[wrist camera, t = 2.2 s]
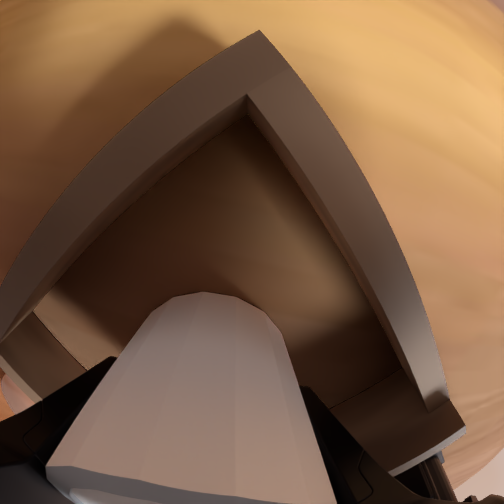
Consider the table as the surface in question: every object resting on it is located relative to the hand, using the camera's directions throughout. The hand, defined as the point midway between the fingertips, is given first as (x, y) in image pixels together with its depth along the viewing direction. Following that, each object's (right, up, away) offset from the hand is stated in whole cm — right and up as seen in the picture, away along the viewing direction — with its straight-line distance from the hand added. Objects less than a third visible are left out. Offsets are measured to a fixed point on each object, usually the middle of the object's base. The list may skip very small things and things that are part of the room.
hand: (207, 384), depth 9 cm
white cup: (0, +1, +2) cm, 2 cm away
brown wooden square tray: (0, +1, +1) cm, 2 cm away
